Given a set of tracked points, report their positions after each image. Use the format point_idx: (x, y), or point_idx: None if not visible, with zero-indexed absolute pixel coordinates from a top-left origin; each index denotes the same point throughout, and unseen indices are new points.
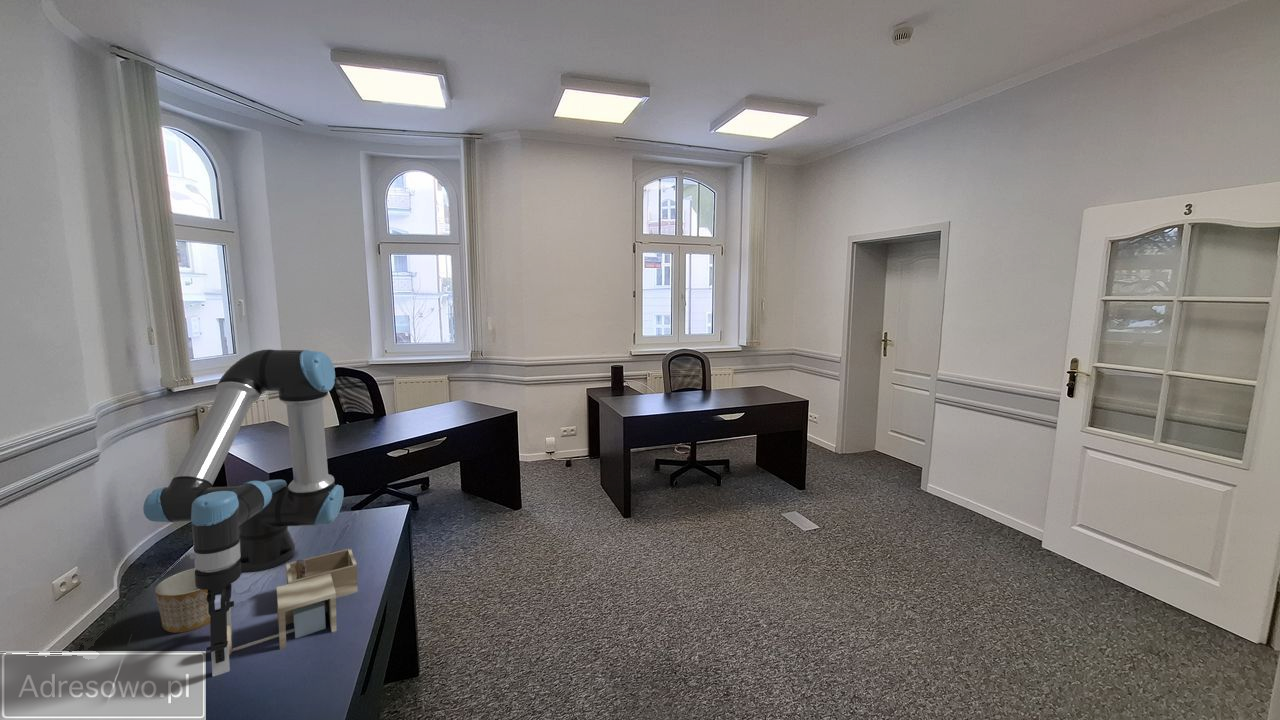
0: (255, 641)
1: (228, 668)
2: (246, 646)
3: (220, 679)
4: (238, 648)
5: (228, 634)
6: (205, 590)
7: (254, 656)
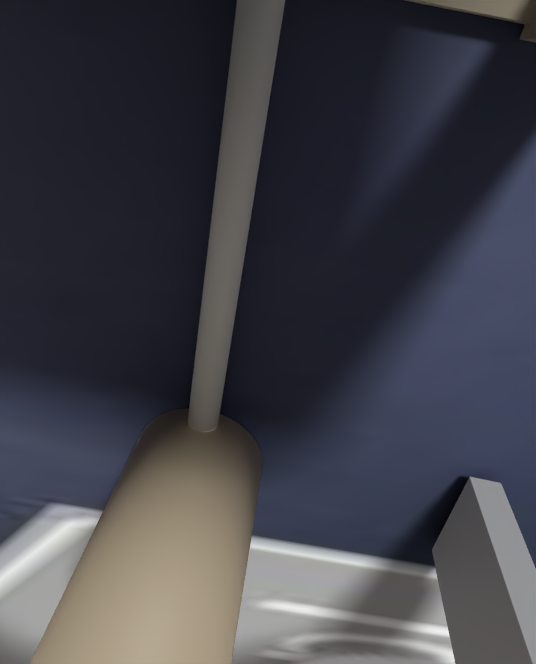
0: (228, 263)
1: (511, 513)
2: (230, 330)
3: (524, 523)
4: (221, 388)
5: (200, 644)
6: None
7: (436, 297)
